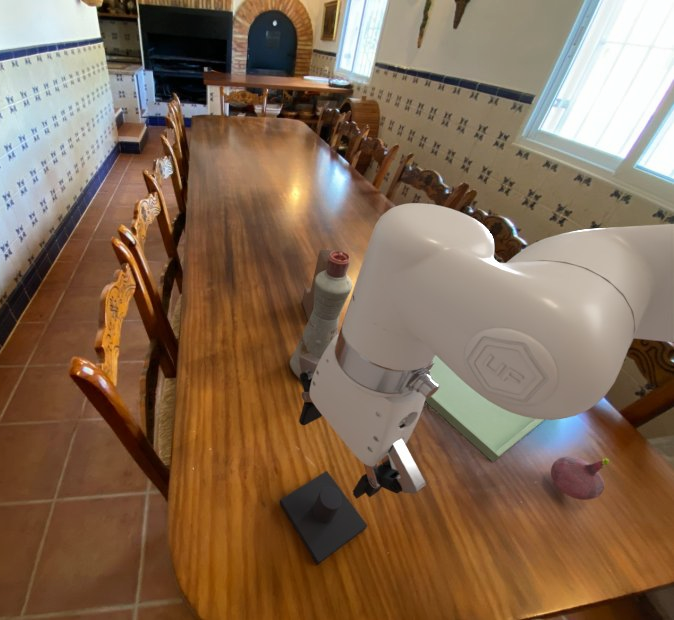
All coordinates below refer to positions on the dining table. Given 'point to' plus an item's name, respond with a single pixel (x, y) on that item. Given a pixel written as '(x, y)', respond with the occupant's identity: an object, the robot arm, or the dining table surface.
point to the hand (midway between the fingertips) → (335, 451)
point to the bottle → (325, 309)
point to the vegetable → (578, 477)
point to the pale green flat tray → (476, 414)
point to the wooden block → (309, 292)
